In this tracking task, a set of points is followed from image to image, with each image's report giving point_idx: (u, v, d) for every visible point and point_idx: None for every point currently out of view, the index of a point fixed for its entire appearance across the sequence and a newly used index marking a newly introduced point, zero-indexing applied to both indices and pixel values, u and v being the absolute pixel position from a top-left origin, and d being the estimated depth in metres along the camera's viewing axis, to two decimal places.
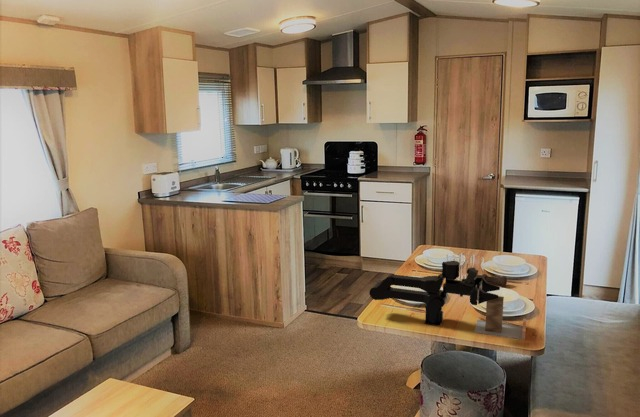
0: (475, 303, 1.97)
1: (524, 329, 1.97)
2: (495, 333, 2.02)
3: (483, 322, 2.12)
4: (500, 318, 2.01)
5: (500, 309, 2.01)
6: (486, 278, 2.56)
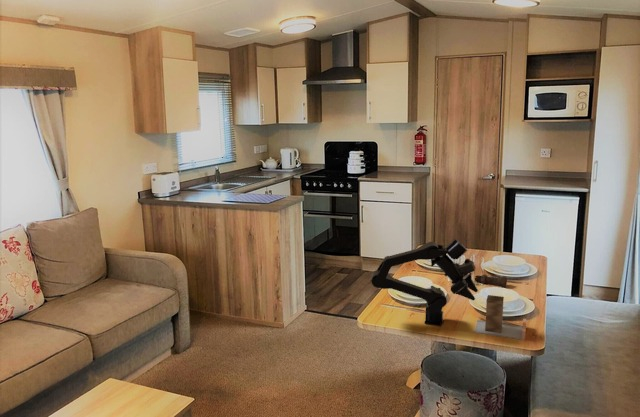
0: (454, 292, 2.00)
1: (524, 329, 1.97)
2: (495, 333, 2.02)
3: (483, 322, 2.12)
4: (500, 318, 2.01)
5: (500, 309, 2.01)
6: (486, 278, 2.56)
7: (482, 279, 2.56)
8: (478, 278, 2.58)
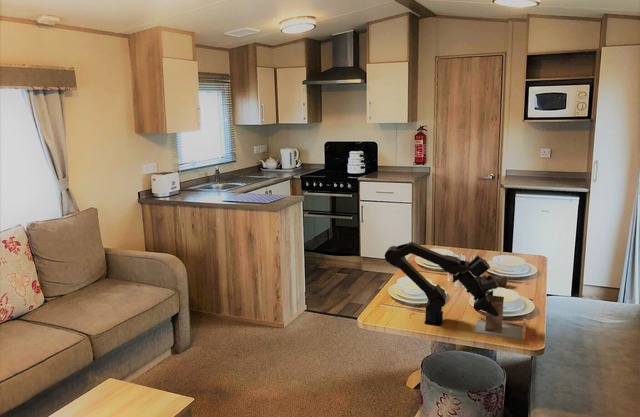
0: (477, 309, 1.98)
1: (524, 329, 1.97)
2: (495, 333, 2.02)
3: (483, 322, 2.12)
4: (500, 318, 2.01)
5: (500, 309, 2.01)
6: (486, 279, 2.55)
7: (482, 280, 2.55)
8: None
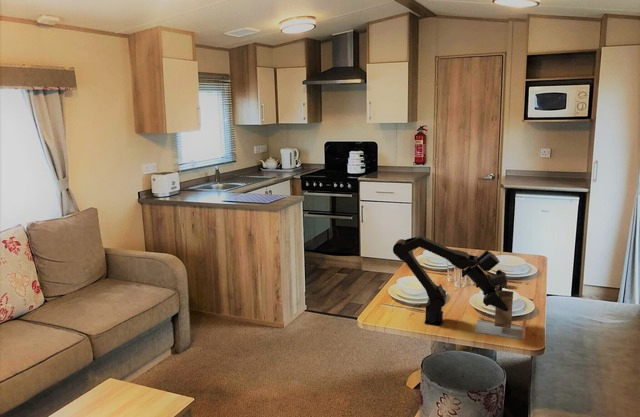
0: (487, 304, 1.96)
1: (524, 329, 1.97)
2: (495, 333, 2.02)
3: (483, 322, 2.12)
4: (510, 313, 2.00)
5: (510, 304, 1.99)
6: None
7: None
8: None
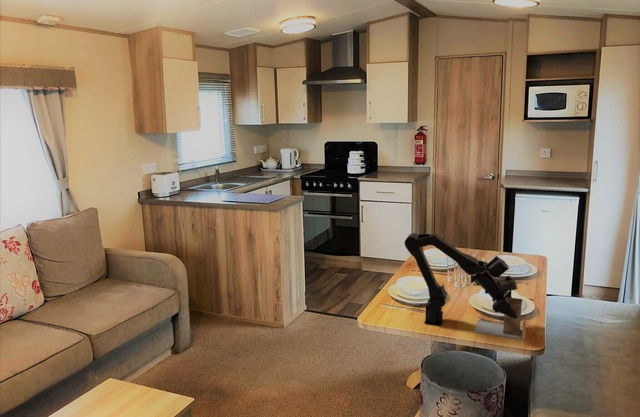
0: (496, 310, 1.95)
1: (524, 329, 1.97)
2: (495, 333, 2.02)
3: (483, 322, 2.12)
4: (519, 321, 1.99)
5: (519, 311, 1.98)
6: None
7: None
8: None
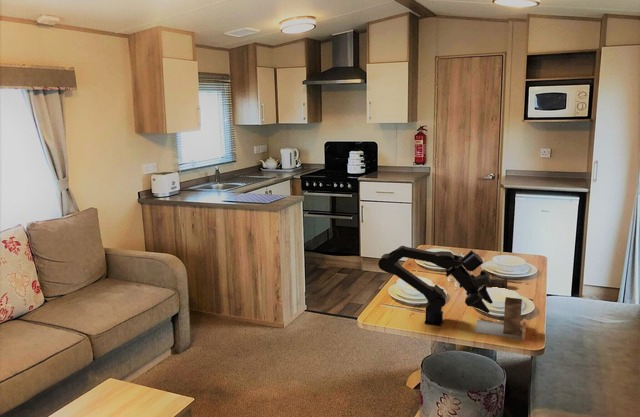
0: (468, 304, 1.99)
1: (524, 329, 1.97)
2: (495, 333, 2.02)
3: (483, 322, 2.12)
4: (519, 321, 1.99)
5: (519, 311, 1.98)
6: None
7: None
8: None
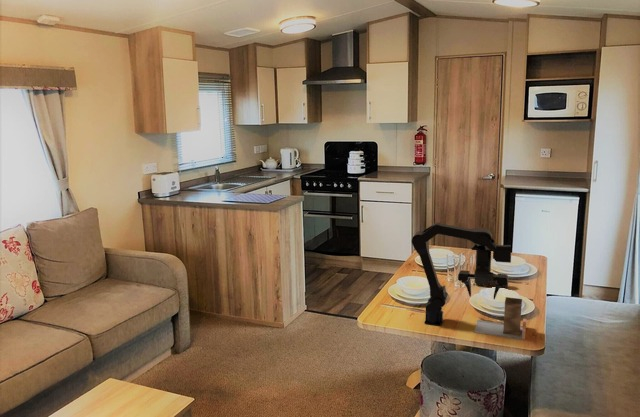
0: None
1: (524, 329, 1.97)
2: (495, 333, 2.02)
3: (483, 322, 2.12)
4: (519, 321, 1.99)
5: (519, 311, 1.98)
6: None
7: None
8: None
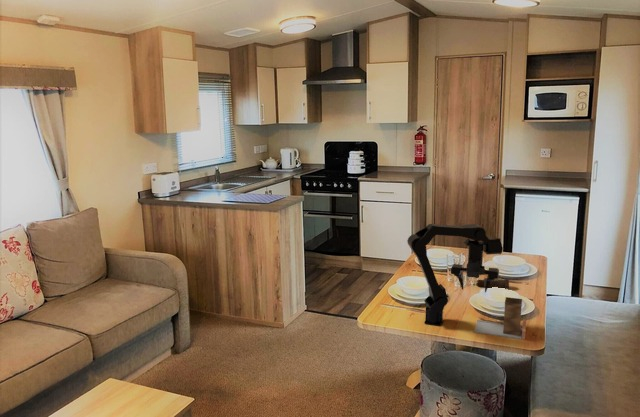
0: None
1: (524, 329, 1.97)
2: (495, 333, 2.02)
3: (483, 322, 2.12)
4: (519, 321, 1.99)
5: (519, 311, 1.98)
6: None
7: (485, 283, 2.51)
8: (480, 282, 2.52)
